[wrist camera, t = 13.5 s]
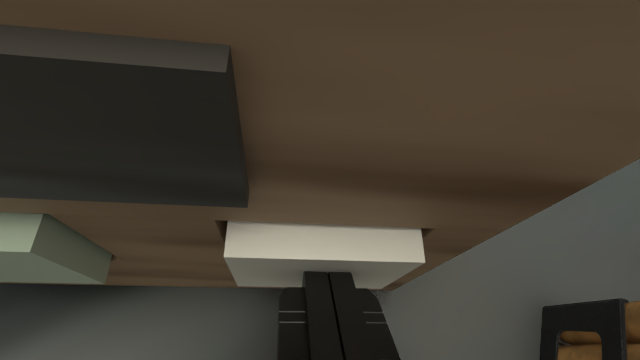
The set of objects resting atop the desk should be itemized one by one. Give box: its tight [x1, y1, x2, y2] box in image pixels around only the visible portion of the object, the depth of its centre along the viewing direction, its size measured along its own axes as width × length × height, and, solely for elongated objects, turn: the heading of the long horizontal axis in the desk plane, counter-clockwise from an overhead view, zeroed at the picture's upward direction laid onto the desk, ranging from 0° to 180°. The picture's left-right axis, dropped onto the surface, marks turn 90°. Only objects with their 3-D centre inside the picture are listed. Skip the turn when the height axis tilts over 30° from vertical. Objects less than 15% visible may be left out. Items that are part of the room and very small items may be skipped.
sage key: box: [0, 212, 112, 284], centre depth 12 cm, size 6×5×4 cm
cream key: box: [224, 221, 425, 289], centre depth 13 cm, size 6×5×4 cm
